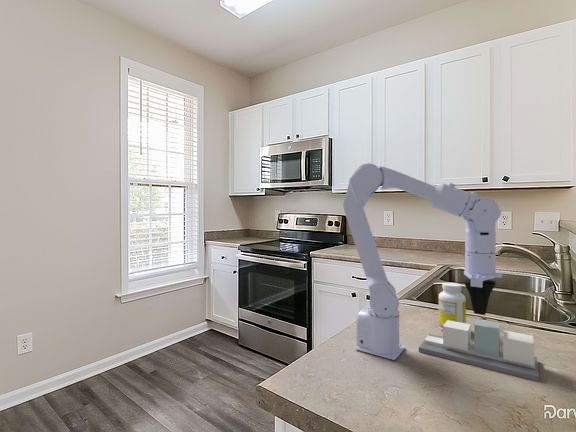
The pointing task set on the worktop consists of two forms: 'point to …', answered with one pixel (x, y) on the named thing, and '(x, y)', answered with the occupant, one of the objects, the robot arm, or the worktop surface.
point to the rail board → (459, 348)
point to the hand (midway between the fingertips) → (479, 313)
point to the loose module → (487, 338)
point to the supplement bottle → (451, 304)
